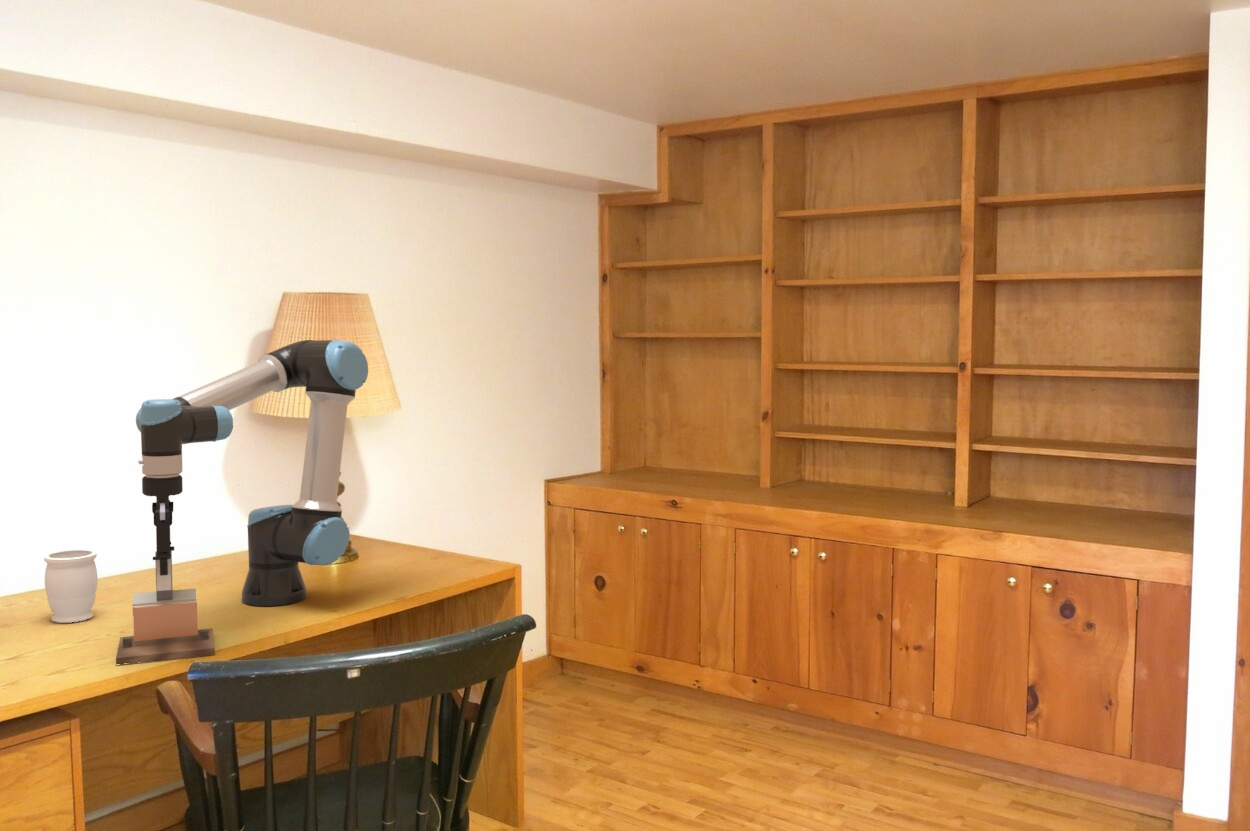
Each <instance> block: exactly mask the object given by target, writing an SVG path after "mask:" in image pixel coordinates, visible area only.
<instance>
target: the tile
mask: <svg viewBox="0 0 1250 831" xmlns="http://www.w3.org/2000/svg"><path fill="white" fill-rule="evenodd" d="M132 617H133V620H132V621H133V636H134V641H141V640H152V639H162V638H172V637H182V636H192V635H198V630H199V628H198V626H199V625H198V624H199V622H198V600H196V601H187V602H175V603H164V604H152V605H141V606H133V605H132Z"/></svg>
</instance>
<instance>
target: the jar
mask: <svg viewBox="0 0 1250 831" xmlns="http://www.w3.org/2000/svg"><path fill="white" fill-rule="evenodd" d="M43 558H44V559H43V560H44V562H45V563H46V567H45V573H44V588H45V593H46V596H47V603H48V606H49V609H50V610H51V612H52V613H53V614H52V616H51V619H50V620H51V621H52V622H53V623H58V624H71V623H72V622H74V623H79V621H80V622H83V621H87V619H88V620H90V619H92V618H93V617H94V613H93V611H92V610H91V609H92V608H93V606H94V604H95V600H96V592H97V589H98V569H97V565H96V562H95V559H96V558H97V551H95V550H90V549H89V550H88V549H86V550H85V549H76V550H75V549H73V550H64V551H57V552H52V553H49V554H46V555H45V556H44V557H43ZM72 624H73V623H72Z"/></svg>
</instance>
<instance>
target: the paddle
mask: <svg viewBox="0 0 1250 831" xmlns="http://www.w3.org/2000/svg"><path fill="white" fill-rule="evenodd" d="M170 553H171V557H170V558H171V588H172V589H171V590H164V591H157V570H156V569H155V584H156V585H155V587H156V589H155V590H156V591H148V592H136V593H135V592H134V593H132V607H133V606H141V605H152V604H164V603H175V602H187V601H197V588H185V589H176V590H175V589H173V561H172V558H173V556H172V553H173V551H172V550H170ZM156 554H157V550H156V551H155V556H154V557H156ZM154 562H155V564H156V560H154Z"/></svg>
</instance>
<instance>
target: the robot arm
mask: <svg viewBox="0 0 1250 831" xmlns="http://www.w3.org/2000/svg"><path fill="white" fill-rule="evenodd" d="M367 359H368V358H367V357H366V355H365V353H363V350H362V349H361V348H360V347H359V345H358V344H356V343H354V342H351V341H345V340H338V339H330V340H329V339H324V340H323V339H321V340H317V339H316V340H314V339H305V340H303V339H302V340H300V341H295V342H292V343H290V344H288V345H285V346H282V347H280V348H277V349H275V350H273V351H270V352H267V353H265V354H264V355H261V356H260V357H259V358H258V360H257V362H256V363H254V364H251V365H249V366H245V367H244V368H242V369H240V370H237V371H235V372H232V373H230V374H228V375H225V376H223V377H221V378H219V379H217V380H216V379H215V380H214V381H212V382H209V383H207V384H204V385H202V386H200V387H197V388H196V389H194V390H193V389H192V390H191V391H188V392H186V393H184V394H182V395H179V396H176V397H174V398H171V399H169V398H167V399H165V398H163V399H159V398H158V399H156V398H155V399H147V400H145V401H143V402H142V404H141V407H140V408H139V409H138V411H137V413H136V417H135V424H136V427H137V430H138V431H139V432H140V439H141V440H140V441H141V442H140V443H141V459H139V460H138V462H137V463H138V464H139V465H142V466H141V473H142V475H145V476H143V477H141V484H142V485H141V489H142V490H141V492H142V494H143V496H145V497H156V501H155V502H152V505H151V511H152V514H153V525H154V526H155V529H156V530H155V532H156V533H155V534H156V535H155V536H156V539H155V540H156V543H155V544H156V551H157V554H156V553H155V554H156V557H155V556H152V561H155V560H156V563H155V571H156V570H157V591H164V590H171V589H173V587H172V588H171V558H170V557H171V553H170V550H172V552H173V551H175V546H171V545H172V541H171V526H172V525H173V513H174V501H171V500H170V496H177V495H180V494H181V493H183V488H184V487H183V476H182V475H181V474H182V472H183V445H186V444H194V443H195V444H196V443H197V444H198V443H206V442H207V443H208V442H213V443H216V442H217V441H222V440H226V439H227V438H228V437H230V436H231V434H232V432H233V431H234V430H233V429H234V418H233V415H232V412H230V411H231V410H233V409H235V408H237V407H239V406H242V405H244V404H246V403H249V402H251V401H253V400H256V399H257V398H259V397H262V396H265V395H267V394H268V393H270V392H275V393H280V392H282V391H284V390H287V389H291V388H304V387H305V394H306V396H307V397H308V398H309V400H310V408H309V416H308V426H307V432H306V434H307V435H306V441H305V448H304V449H305V450H304V460H303V465H302V476H301V483H300V484H301V485H300V494H299V499H298V501H295V503H294V504H282V505H273V506H266V507H259V508H256V509H253V510H251V511H250V512H249V514H248V519H247V522H248V523H247V543H248V544H247V546H248V549H247V550H248V570H247V571H248V572H247V575H246V578H245V581H244V584H243V587H242V590H241V601H242V603H243V604H245V605H250V606H255V607H257V606H258V607H275V606H276V607H277V606H286V605H291V604H294V603H298V602H302V601H303V600H305V599H306V598H307V586H306V584H305V580H304V577H303V576H302V572H301V570H300V567H299V563H302V564H308V565H310V566H328V565H332V564H333V563H335V562H336V561H338V560H339V558H340V557H342V556H343V554H345V552H346V550H347V548H348V545H349V542H350V536H351V535H350V528H349V527H348V523H347V522H346V521H344V520H343V518H342V513H343V509H342V508H341V507H340V505H339V504H338V500H337V499H338V491H339V482H340V474H341V466H342V456H343V448H344V438H345V430H346V420H347V414H348V413H347V412H348V406H349V404H350V403H351V402H352V401H353V400H354V399H355V400H356V392H357V390H358V389H360V388H362V387H363V385H364V383H366V381H367V379H368V377H369V375H368V374H369V362H368V360H367Z"/></svg>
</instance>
